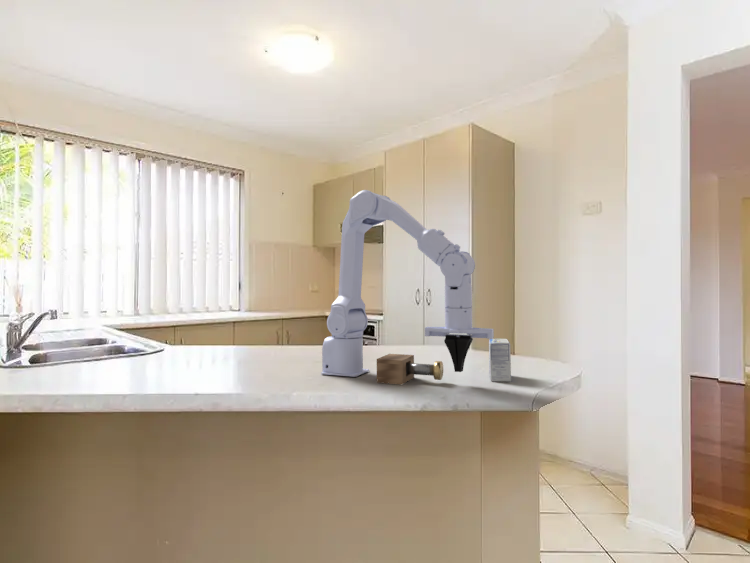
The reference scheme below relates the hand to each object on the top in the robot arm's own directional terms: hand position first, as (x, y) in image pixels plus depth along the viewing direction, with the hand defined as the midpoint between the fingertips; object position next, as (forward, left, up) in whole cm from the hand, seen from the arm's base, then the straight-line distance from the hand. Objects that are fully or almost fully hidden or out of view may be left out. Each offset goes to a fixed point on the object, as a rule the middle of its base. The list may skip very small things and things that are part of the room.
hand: (458, 371), depth 101 cm
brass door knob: (-9, 0, -2) cm, 9 cm away
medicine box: (+7, +10, -3) cm, 13 cm away
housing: (-14, 0, -3) cm, 15 cm away
